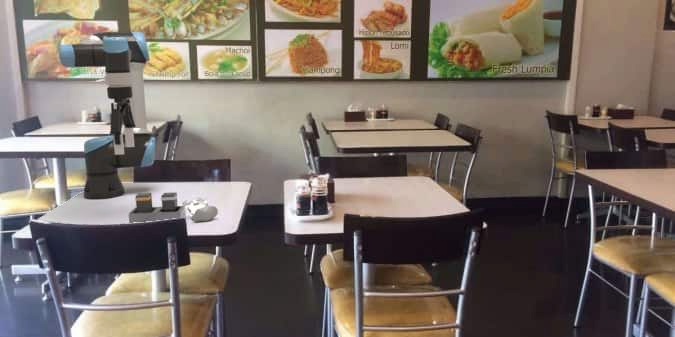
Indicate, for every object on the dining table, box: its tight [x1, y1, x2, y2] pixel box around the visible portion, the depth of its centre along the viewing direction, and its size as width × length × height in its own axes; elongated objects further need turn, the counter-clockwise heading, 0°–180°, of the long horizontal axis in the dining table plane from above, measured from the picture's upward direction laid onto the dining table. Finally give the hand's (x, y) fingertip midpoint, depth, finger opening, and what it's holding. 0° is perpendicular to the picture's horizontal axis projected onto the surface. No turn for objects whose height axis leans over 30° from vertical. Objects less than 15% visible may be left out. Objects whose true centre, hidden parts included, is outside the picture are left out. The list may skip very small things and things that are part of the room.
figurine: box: [181, 197, 219, 223], centre depth 190 cm, size 9×6×12 cm
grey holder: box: [128, 191, 187, 223], centre depth 183 cm, size 8×16×10 cm, turn 95°
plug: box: [134, 192, 153, 213], centre depth 183 cm, size 4×4×9 cm
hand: (125, 150), depth 189 cm, fingers open, 13 cm apart
